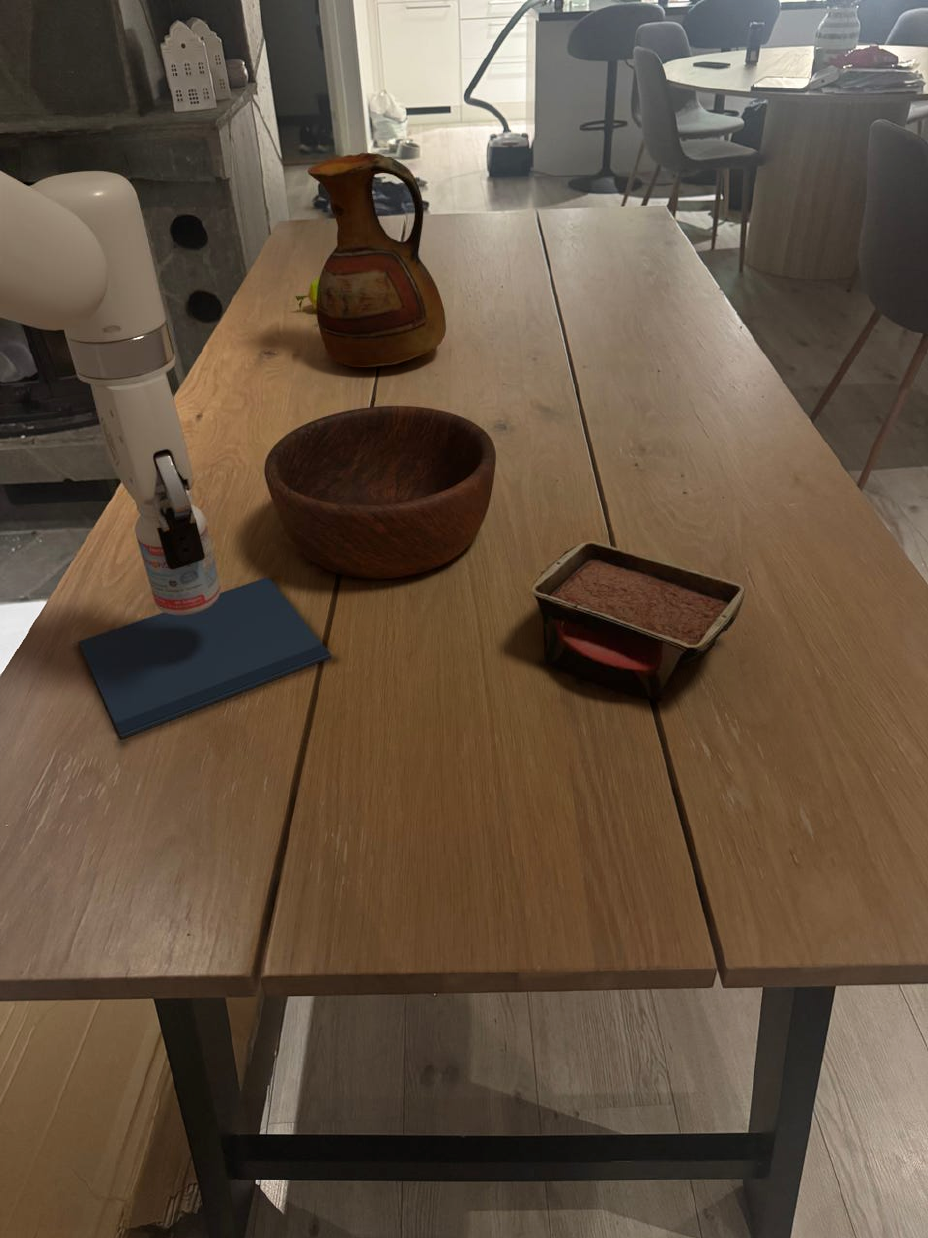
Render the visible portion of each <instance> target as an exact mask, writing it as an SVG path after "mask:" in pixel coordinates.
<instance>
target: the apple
mask: <svg viewBox="0 0 928 1238" xmlns="http://www.w3.org/2000/svg"><path fill="white" fill-rule="evenodd" d="M319 279H320V277H319V278H317V279H315V280H313V281H311V283H310V286H309V290H308V293H307V295H294V298H295V299H296V301H297V302H298V301H300V302H299V304H298V307H299V309H300V310H301V309H302V304H303V301H304V299H306V298H308V299H309V301H310V303H311V305H312V307H313V309H314V310H316V311H317V309H316V307H317V289H318V283H319Z"/></svg>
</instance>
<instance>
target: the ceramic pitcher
mask: <svg viewBox="0 0 928 1238" xmlns="http://www.w3.org/2000/svg"><path fill="white" fill-rule="evenodd" d="M307 173H308V175H309V176H311V177H312V178H313V179H315V180H316V181H317V182H318V183H320V184H321V185H322V187H323V188H324V190H325V191H326V192H327V194H328V198H329V206H330V210H331V212H332V214H333V216H334V219H335V222H336V224H337V232H336V243H337V245H336V247H335V248H334V250H333V251H332V252H331V254H329V256H328V257H327V259H326V261H325V262H324V265H323V267H322V270H321V273H320V276H319V278H320V279H319V278H318V279H319V283H318V289H317V307H316V309H317V310H316V309H315V310H316V319H317V325H318V329H319V334H320V336H321V340H322V343H323V345H324V349H325V351H326V353H327V354H328V356H330V358H331V359H332V360H334V361H335V362H337V363H339V364H343V365H345V366H348V367H355V368H371V367H381V366H382V367H383V366H391V365H396V364H397V365H398V364H400V363H402V362H405V361H409V360H412V359H414V358H416V357H420V356H423V355H424V354H427V353H428V352H430V351H432V350H433V349H436V348H437V347H438V346H440V345H441V344H442V342H443V340H444V338H445V336H446V332H447V323H446V322H447V321H446V312H445V308H444V305H443V300H442V298H441V294H440V291H439V289H438V286H437V284H436V282H435V280H434V279H433V276H432V274H431V273H430V272H429V270H428V268H427V266H426V265H425V264H424V263H423V262H422V260H421V258H420V254H419V252H420V244H421V238H422V232H423V226H424V225H423V224H424V214H425V213H424V212H425V211H424V202H423V196H422V193H421V190H420V187H419V184H418V182H417V180H416V178H415V176H414V174H413V173H412V171H411V170H410V169H409V168H408V167H407V166H406V165H404V164H403V163H401V162H400V161H399V160H397V159H395V158H394V157H392V156H385V155H382V154H380V153H372V152H360V153H358V154H347V155H343V156H338V157H337V156H336V157H332V158H330V159H329V158H328V159H327V160H322V161H320V162H318V163H317V164H314V165H312V166H311V167H309V168H308V170H307ZM380 174H387V175H391V176H394V177H395V178H397V179H399V180H400V181H401V182H402V183H404V185H405V187H406V188H407V189H408V191H409V194H410V196H411V199H412V202H413V203H412V204H413V208H414V218H413V224H412V228H411V231H410V234H409V235H408V237H407V239H406V240H403V241H399V240H397V239H395V238H393V237H390V236H389V235H388V234H387V232H386V230H385V229H384V228H383V226H382V224H381V222H380V219H379V217H378V214H377V210H376V205H375V202H374V201H375V200H374V196H373V195H374V194H373V188H374V187H373V186H374V179H375V176H376V175H380Z"/></svg>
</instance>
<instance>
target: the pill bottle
mask: <svg viewBox="0 0 928 1238" xmlns="http://www.w3.org/2000/svg"><path fill="white" fill-rule="evenodd" d="M162 491H165V489H164V487H163V485H159V486H156V489H155V492H156V493H159V492H162ZM186 492H187V495H188V498H189V501H190V504H191V507H192V510H193V513H194V516H195V519H196V522H197V526H198V530H199V534H200V538H201V542H202V546H203V550H204V554H205V558H204V559H203V560H201V561H198V562H195V563H192V564H189V565H186V566H183V567H180V568H177V569H173V570H172V569H170V568H169V567H168V565H167V563H166V559H165V556H164V552H163V548H162V545H161V541H160V538H159V534H158V530H157V528H159V527H160V524H159V521H158V518H157V515H156V512H155V509H154V506H153V503H152V500H150V501H146V503H145V504H140V503H138V502H136V501H135V500H134V502H135V505H136V511H137V513H138V514H139V516H138V518H137V520H136V522H135V525H134V532H135V536H136V540H137V543H138V547H139V550H140V551H139V552H140V555H141V558H142V561H143V564H144V568H145V572H146V576H147V578H148V583H149V586H150V590H151V593H152V594H151V595H152V597H153V600H154V603H155V606H156V607H157V608H158V609H159V610H160V611H161V612H162V613H164V612H165V613H168V614H172V615H189V614H194V613H198V612H201V611H203V610H205V609H207V608H209V607H210V606H212V605H213V604H214V603H215V602H216V600H217V599H218V597H219V595H220V593H221V582H220V579H219V574H218V570H217V565H216V561H215V556H214V552H213V551H214V550H213V547H212V543H211V537H210V533H209V528H208V524H207V520H206V517H205V515H204V513H203V511H202V510H201V509H200V508H199V507H197V506H196V505H194V504H193V500H194V497H193V495H192V491H191V489H190V490H189V491H187V490H186ZM161 504H162V506H163V509H164V512H165V513H166V509H167V508H170V506H169V499H165V500H162V501H161Z"/></svg>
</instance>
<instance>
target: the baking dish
mask: <svg viewBox="0 0 928 1238" xmlns="http://www.w3.org/2000/svg"><path fill="white" fill-rule="evenodd" d="M530 590H531V592H532V594H533V596H534V598H535V599H536V601H537V605H538V608H539V609H538V610H539V612H540V615H541V619H542V631H543V632H542V633H543V648H544V658H543V662H544V663H546V664H547V665H549V666H550V667H553V668H555V669H558V670H560V671H563V672H565V673H568V674H571V675H572V676H576V677H579V678H581V679H585V680H588V681H590V682H594V683H596V684H599V685H603V686H605V687H609V688H610V689H614V690H616V691H619V692H623V693H625V694H629V695H632V696H637V697H640V698H642V699H646V700H649V701H652V702H653V701H654V702H659V703H661V701H662V700H663V696H664V691H665V687H666V683H668V680H669V678H670V677H671V675H672V673H673V672H674V669H675V668H677V667H680V666H681V665H683V664H685V663H687V662H690V661H691V660H692V661H693V660H694V659H696V658H697V657H700V656H702V655H703V654H704V652H706V651H707V650H708V649H710V648H711V647H712V646H713V645H714V644H715V643H716V642H717V639H718V638H719V637H720V636H721V635H722V633H725V632H727V631H728V630H729V628H730V627H731V626H732V625H733V624H734V622H735V620H736V618H738V615H739V612H740V610H741V607H742V604H743V601H744V599H745V595H746V588H745V586H744V584H743V583H740V582H736V581H731V580H728V579H724V578H721V577H717V576H714V575H711V574H708V573H704V572H701V571H696V570H693V569H689V568H686V567H682V566H680V565H675V564H672V563H669V562H665V561H662V560H659V559H656V558H653V557H648V556H646V555H645V556H644V555H641V554H638V553H635V552H631V551H629V550H624V549H621V548H618V547H615V546H611V545H607V544H604V543H601V542H597V541H586V542H582V543H580V544H577V545H575V546H573V547H571V548H570V549H568V550H566V551H565V552H564V553H563V554H562V555H561V556H560V557H558V559H557V560H555V561H554V562H552V563H551V564H549V565H548V567H547V568H546V569H544V570H543V571H541V572H540V575H539V577H538V578H537V579H536V580H535V581H534V582H533V584H532V585H531V588H530Z"/></svg>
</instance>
